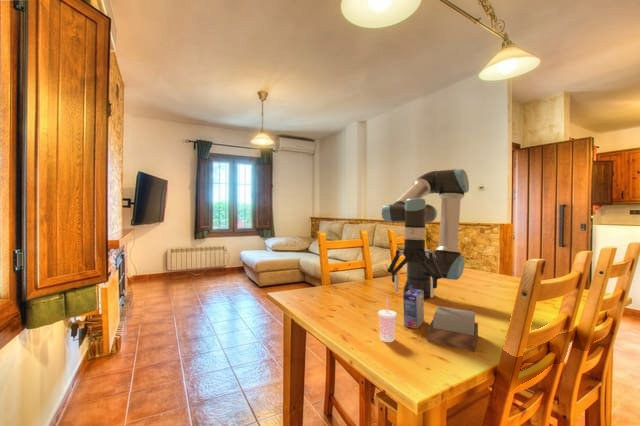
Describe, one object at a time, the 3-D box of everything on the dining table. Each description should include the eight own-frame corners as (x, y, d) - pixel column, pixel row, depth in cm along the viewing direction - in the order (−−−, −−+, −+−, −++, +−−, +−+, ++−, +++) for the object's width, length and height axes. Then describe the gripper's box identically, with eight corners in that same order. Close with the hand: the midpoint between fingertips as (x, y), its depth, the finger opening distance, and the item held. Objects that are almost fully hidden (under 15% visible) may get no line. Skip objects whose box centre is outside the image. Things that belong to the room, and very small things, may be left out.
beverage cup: (391, 344, 96) (391, 301, 96) (374, 339, 100) (374, 298, 100) (399, 338, 101) (399, 297, 100) (383, 333, 105) (383, 294, 104)
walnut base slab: (427, 342, 99) (427, 327, 99) (435, 328, 111) (435, 315, 111) (474, 353, 91) (474, 337, 91) (477, 337, 103) (478, 323, 103)
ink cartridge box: (410, 318, 120) (410, 282, 120) (424, 320, 117) (424, 284, 117) (402, 326, 112) (403, 287, 111) (417, 329, 108) (417, 290, 108)
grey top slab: (433, 328, 98) (433, 316, 98) (437, 316, 109) (438, 306, 109) (473, 335, 93) (474, 323, 93) (474, 323, 103) (474, 311, 103)
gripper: (380, 237, 117) (379, 290, 117) (447, 241, 104) (446, 301, 104) (386, 236, 124) (385, 286, 124) (451, 239, 110) (450, 296, 110)
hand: (413, 293), depth 114 cm, fingers open, 13 cm apart
